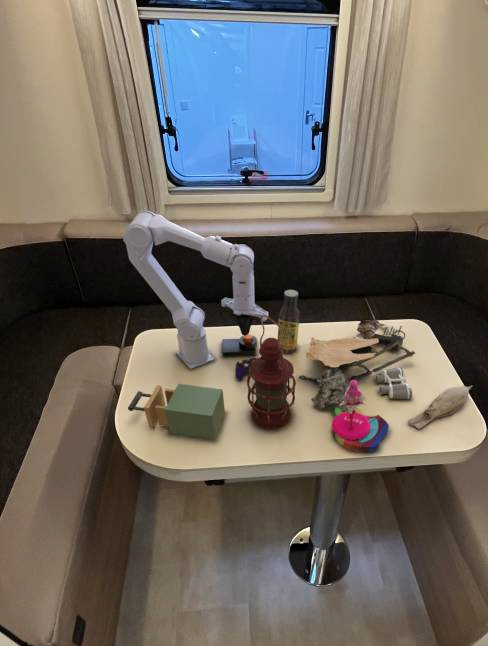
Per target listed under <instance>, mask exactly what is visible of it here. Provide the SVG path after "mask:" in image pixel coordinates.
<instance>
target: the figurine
mask: <svg viewBox="0 0 488 646" xmlns="http://www.w3.org/2000/svg"><path fill="white" fill-rule="evenodd" d="M338 405H339V407H341V406H343V405H346V407H347V408H348V411H349V412H348V411H344V412H343V411H342V412H343V413H340V414H339V415H337V416H336V417H335V416H334V417H333V419H332V422H331V429H332V431H333V433H334V435H335V434H337V435H338V436H339V437H341V438H344V439H348V440H357V439H360V438H363V437H365V436H366V435H367V434H368V433H369V431H370V423H369V421H368V419H367V418H366V417H365V416H366V415H365V416H363V415H364V414H362V413H361V412H360V413H361V414H360V413H357V412H356V407H359V406H361V405H364V406H365V407H368V405H367V404H366V403H365V401H364V397H363V393H362V391H360V389H359V382H358V381H356V380H351V382H349V384H348V389H347V391H346V393H345V397H344V401H343V402H342V403H340V404H338ZM352 407H353V410H352Z"/></svg>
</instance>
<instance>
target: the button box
mask: <svg viewBox="0 0 488 646" xmlns="http://www.w3.org/2000/svg"><path fill="white" fill-rule="evenodd" d="M221 341H222V343H221V345H222V346H221V347H222V348H221V354H222V358H223V357H224V358H226V357H250V356H251V357H252V356H256V348H257V346H258V338H257V337H256V336H255V335H252V342H251V343H245V342H244V335H242V336H240V337H239V338H222V340H221Z"/></svg>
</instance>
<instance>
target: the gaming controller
mask: <svg viewBox="0 0 488 646" xmlns="http://www.w3.org/2000/svg"><path fill="white" fill-rule="evenodd" d="M257 358H258V357H251V358H247V359H240V360H237V362H236V364H235V368H234V369H235V372H234V373H235V378H236V379H237V380H238V381H242V379H243V377H244V374H245V371H249V366H250V365H251V363H252V362H253V361H254V360H256V359H257Z"/></svg>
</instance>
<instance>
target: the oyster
mask: <svg viewBox="0 0 488 646" xmlns="http://www.w3.org/2000/svg"><path fill="white" fill-rule="evenodd" d="M379 326H380V327H385V326H386V327H387V324H385V323H380V322H379V320H377V319H375V318H374V319H373V318H372V319H371V318H370V319H368V320H366V319H361V320H360V321H359V323H358V324H357V328H356V331H357V332H358V333H359V334H360V335H362V336H363V339H366V337H367V339H372V338H373V335H374V334H376V332H377V331H378V330H379V329H380V327H379Z"/></svg>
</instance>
